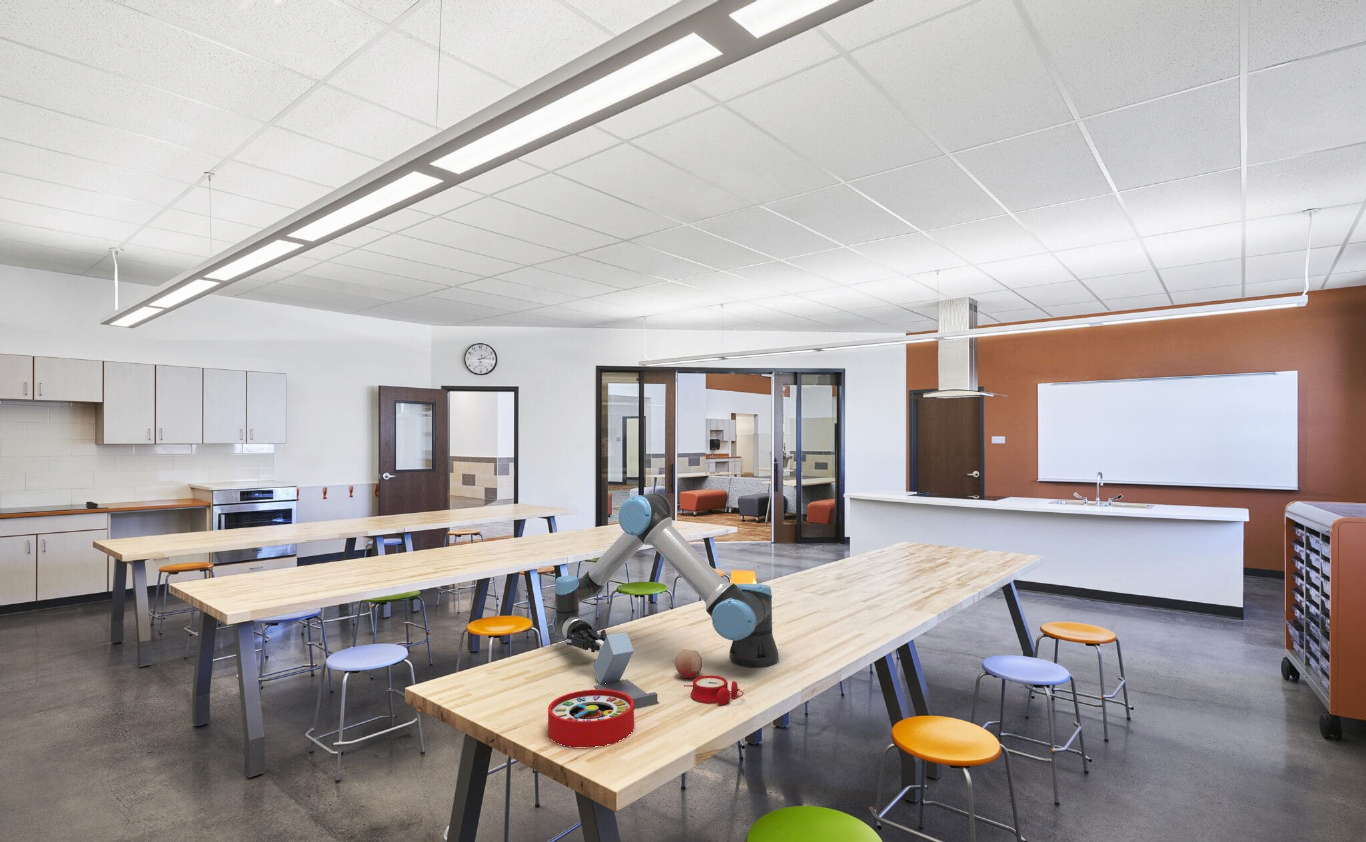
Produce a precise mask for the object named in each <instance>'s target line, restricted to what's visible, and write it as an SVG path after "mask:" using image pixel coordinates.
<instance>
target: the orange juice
mask: <svg viewBox="0 0 1366 842" xmlns="http://www.w3.org/2000/svg"><path fill="white" fill-rule="evenodd" d="M729 583H735V585H736V584H743V583H745V584H758V582H757V578H756V573H755V570H739V569H738V570H737V569H736V570H735V569H733V570H731V574H730V581H729Z"/></svg>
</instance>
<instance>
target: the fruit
mask: <svg viewBox="0 0 1366 842" xmlns="http://www.w3.org/2000/svg"><path fill="white" fill-rule="evenodd" d="M674 665H675V669H676V671H677V673H678V674H679V675H680V677H682V678H685V679H691V680H692V679H695V678H697V677H698V675H699V674H700V673H701V671H702V668H703V657H702V656H701V654H700V653H699V652H698V650H696V649H687V648H684V649H682V650H680V651H679V652H678V653H676V656H675V659H674Z"/></svg>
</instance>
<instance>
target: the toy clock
mask: <svg viewBox="0 0 1366 842" xmlns="http://www.w3.org/2000/svg"><path fill="white" fill-rule="evenodd" d="M547 722H548V723H547V736H548V735H549V736H548V737H550V738H551V739H552V740H553V741H555V742H557V743H559V744H562V745H565V746H564V747H566V746H571V747H595V746H603V747H606V746H605V745H607V744H612V745H614V744H613V743H615V742H617V743H619V742H618V741H619V740H622V739H623V738H626V737H627V736H628V735H629V734H631V732H632V733H633V732H634V730H635V709H634V701H633V699H632V698H631V697H630V696H628V695H627V694H624V693H622V692H618V691H613V690H601V689H596V688H595V689H586V690H585V689H583V690H578V691H573V692H569V693H565V694H563V695H561V696H559V697H557V698H555V699H553V700H552V701H551V703H549V704H548V707H547ZM633 729H634V730H633ZM631 735H632V734H631ZM628 737H629V736H628ZM628 737H627V738H628ZM550 738H549V739H550ZM627 738H626V739H627ZM551 739H550V740H551ZM552 740H551V741H552ZM553 741H552V742H553ZM622 741H623V740H622ZM555 742H554V743H555ZM557 743H556V744H557ZM559 744H558V745H559ZM615 744H616V743H615ZM562 745H561V746H562ZM571 747H570V748H571Z"/></svg>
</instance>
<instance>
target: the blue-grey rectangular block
mask: <svg viewBox="0 0 1366 842" xmlns="http://www.w3.org/2000/svg"><path fill="white" fill-rule="evenodd" d="M606 635H607V634H606ZM633 647H634V646H633V645H632V642H631V639H630V637H629V633H628V632H627V631H626V632H620V633H613V634H612V633H611V634H608V635H607V636H606V639H605V641H604V643H603V646H602V648H601V650H600V652H599V653H598V655H597V658H596V661H595V662H594V665H593V668H594V671H595V674H596V678H597V681H598V685H601V684H605V683H611V682H615V681H620V680H622V677H623V675H624V673H625V671H626V668H627V666H628V665H629V663H630V660H631V658H632V656H633V654H634V652H635V650H634V648H633Z"/></svg>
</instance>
